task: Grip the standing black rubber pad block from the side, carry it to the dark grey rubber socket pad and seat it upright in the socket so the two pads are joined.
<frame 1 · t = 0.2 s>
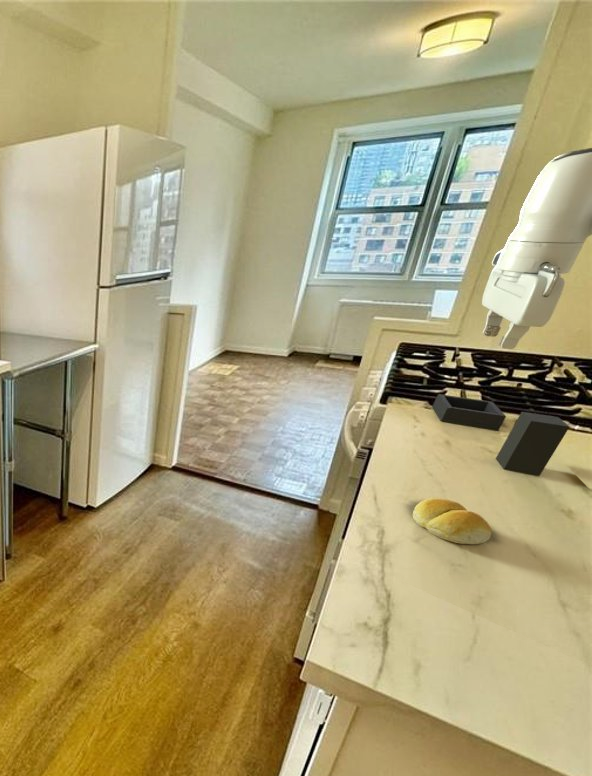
hand: (497, 341, 87), 22 cm above the worktop, tool pointing down, fingers open, 8 cm apart
black pad: (516, 466, 92), on the worktop
socket pad: (463, 418, 112), on the worktop
bread roll: (446, 529, 74), on the worktop
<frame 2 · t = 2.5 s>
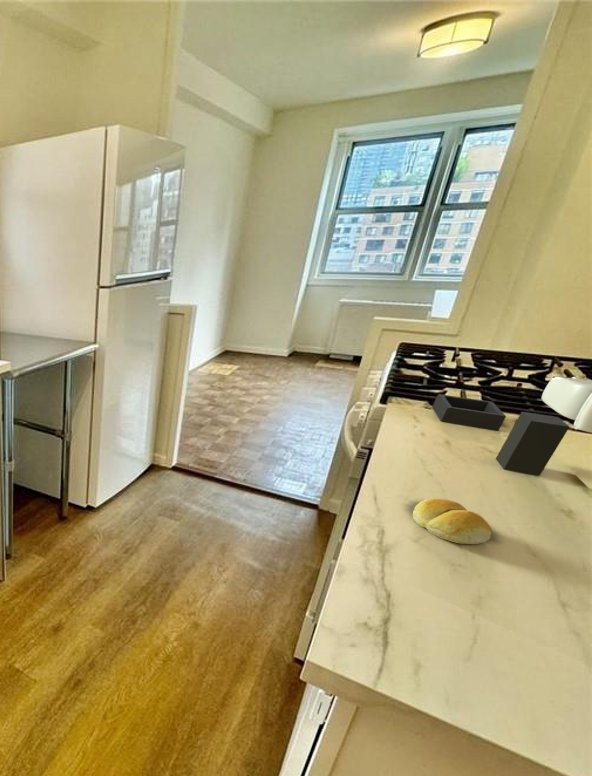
nothing on the worktop moved.
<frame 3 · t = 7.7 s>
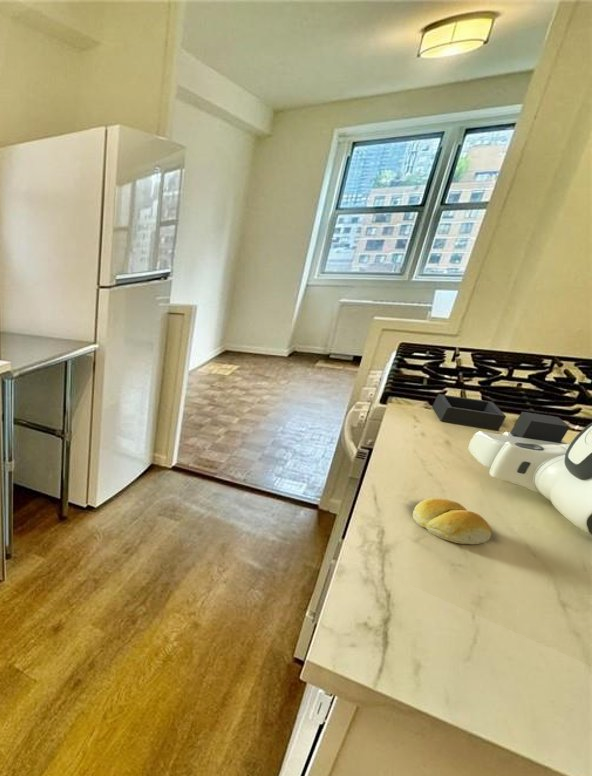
hand: (529, 439, 90), 6 cm above the worktop, tool horizontal, fingers closed on black pad, 5 cm apart
black pad: (517, 466, 92), on the worktop, touching gripper
everything else where it was.
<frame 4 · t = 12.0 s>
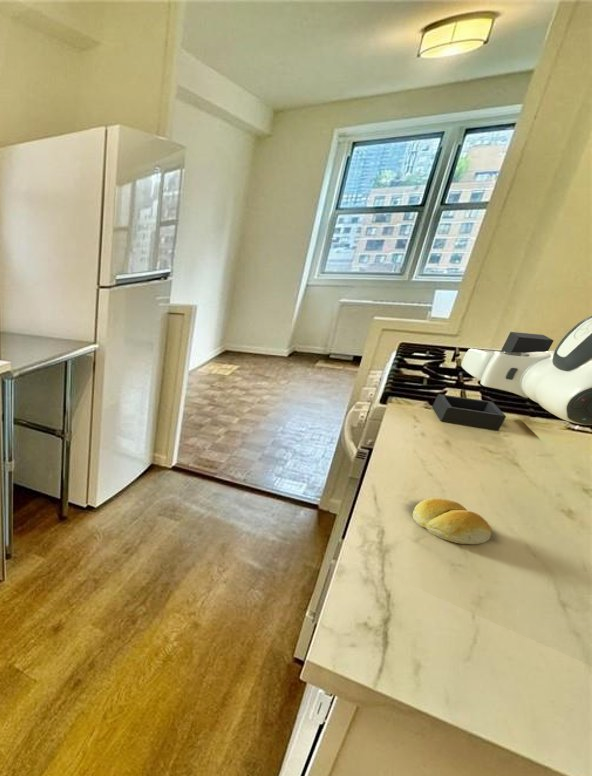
hand: (517, 356, 98), 17 cm above the worktop, tool horizontal, fingers closed on black pad, 5 cm apart
black pad: (506, 384, 100), point 11 cm above the worktop, touching gripper
everything else where it was.
when the fingers open (6 cm above the worktop, at t = 16.5 s): black pad stays where it is, resting on socket pad.
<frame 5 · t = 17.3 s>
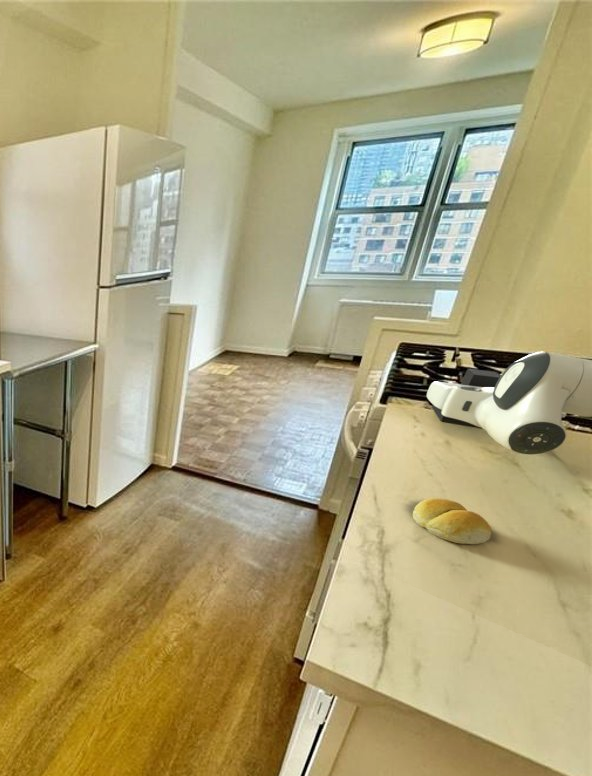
hand: (477, 388, 110), 7 cm above the worktop, tool horizontal, fingers open, 8 cm apart
black pad: (464, 414, 112), point 1 cm above the worktop, touching socket pad
everything else where it was.
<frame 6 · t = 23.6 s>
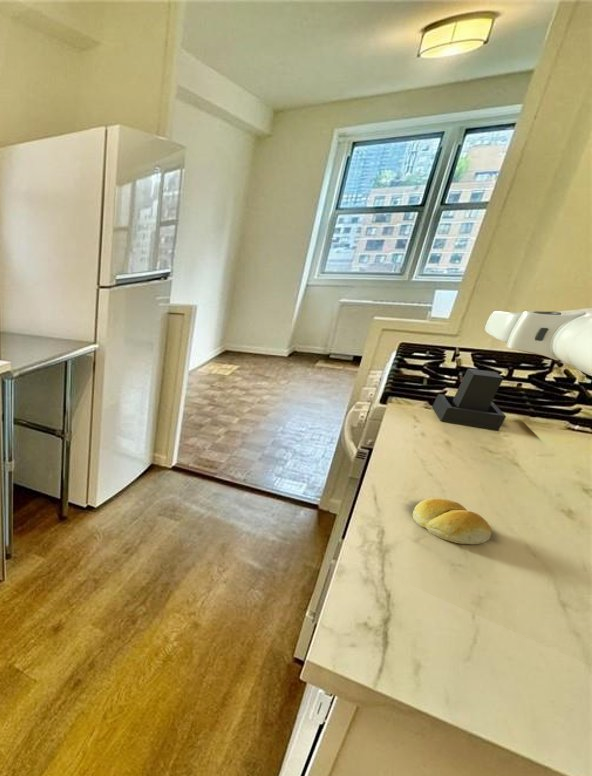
hand: (545, 320, 91), 25 cm above the worktop, tool horizontal, fingers open, 8 cm apart
nothing on the worktop moved.
at the end: black pad 0.1 cm off-centre in the socket pad, point 1.0 cm above the socket pad's base; black pad tilted 0°; the gripper is holding nothing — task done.
